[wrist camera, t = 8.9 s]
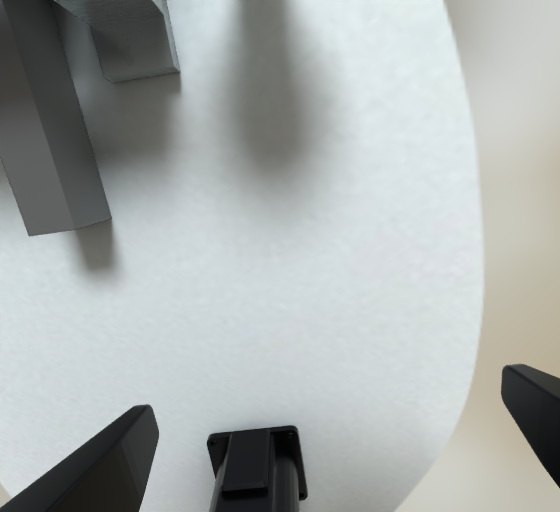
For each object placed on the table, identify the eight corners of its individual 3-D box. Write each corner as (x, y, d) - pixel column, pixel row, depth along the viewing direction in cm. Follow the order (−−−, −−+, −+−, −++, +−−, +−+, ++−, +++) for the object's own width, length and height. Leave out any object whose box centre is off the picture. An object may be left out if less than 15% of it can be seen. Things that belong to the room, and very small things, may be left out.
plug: (128, 215, 19) (76, 233, 14) (57, 225, 20) (-18, 246, 15) (31, -142, 15) (-90, -287, 10) (-60, -123, 15) (-220, -256, 10)
